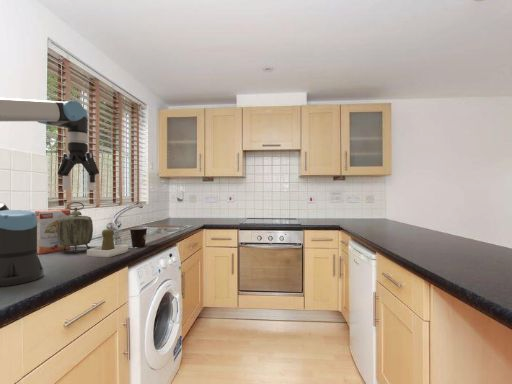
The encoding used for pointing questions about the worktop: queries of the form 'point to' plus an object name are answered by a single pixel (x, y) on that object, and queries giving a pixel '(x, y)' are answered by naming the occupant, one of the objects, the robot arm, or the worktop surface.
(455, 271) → the worktop surface
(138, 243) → the coffee mug
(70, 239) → the tabletop clock
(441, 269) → the worktop surface
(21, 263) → the robot arm
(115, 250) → the tray
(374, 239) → the worktop surface
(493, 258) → the worktop surface
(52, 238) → the cracker box
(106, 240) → the olive rounded piece
